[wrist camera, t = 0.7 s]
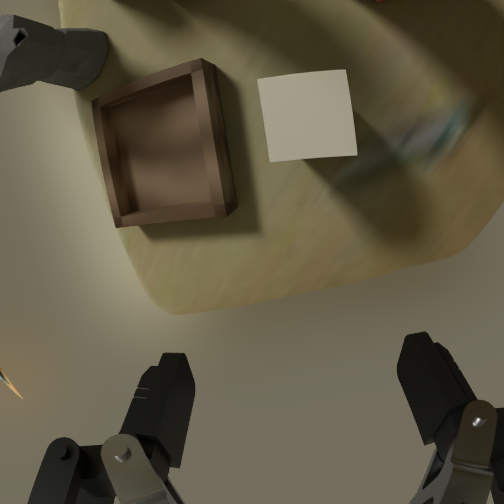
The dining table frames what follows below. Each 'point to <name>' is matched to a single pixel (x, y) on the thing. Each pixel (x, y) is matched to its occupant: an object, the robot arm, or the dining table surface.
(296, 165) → the dining table surface
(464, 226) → the dining table surface
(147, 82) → the tray
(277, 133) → the carton
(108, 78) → the dining table surface
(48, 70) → the coffeepot
